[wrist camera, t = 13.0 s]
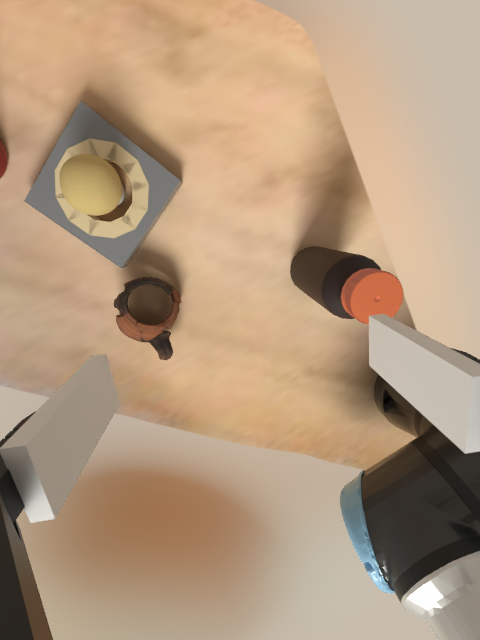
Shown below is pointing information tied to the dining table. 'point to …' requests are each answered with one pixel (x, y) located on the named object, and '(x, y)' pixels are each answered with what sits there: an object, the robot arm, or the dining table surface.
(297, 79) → the dining table surface
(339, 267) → the bottle
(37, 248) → the dining table surface
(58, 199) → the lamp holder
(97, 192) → the light bulb
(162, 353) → the pottery mug
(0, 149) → the soda can
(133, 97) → the dining table surface
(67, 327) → the dining table surface
